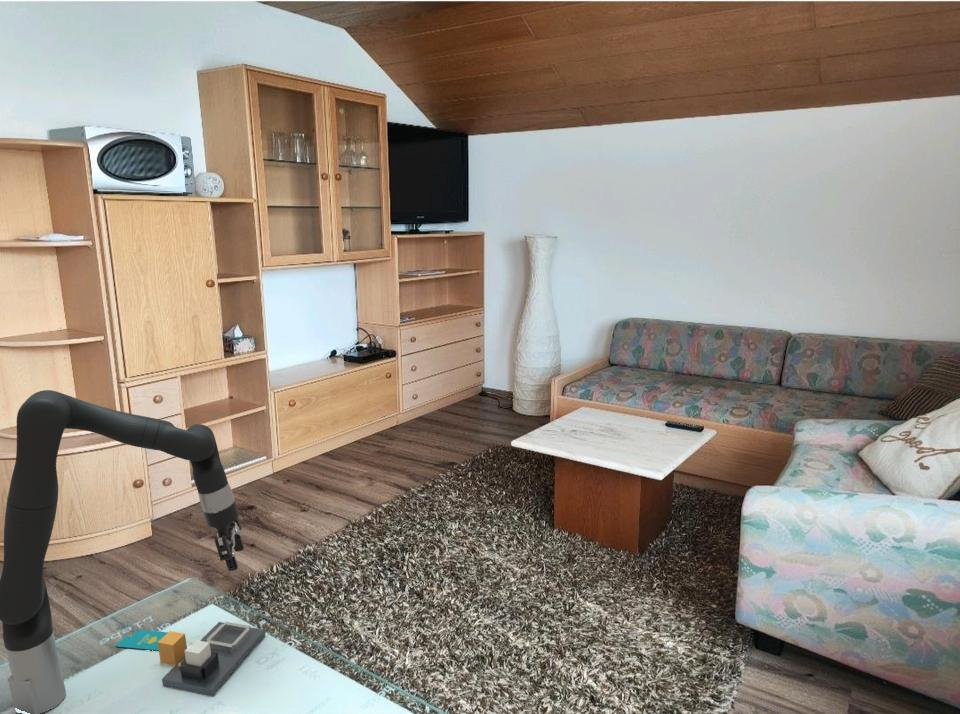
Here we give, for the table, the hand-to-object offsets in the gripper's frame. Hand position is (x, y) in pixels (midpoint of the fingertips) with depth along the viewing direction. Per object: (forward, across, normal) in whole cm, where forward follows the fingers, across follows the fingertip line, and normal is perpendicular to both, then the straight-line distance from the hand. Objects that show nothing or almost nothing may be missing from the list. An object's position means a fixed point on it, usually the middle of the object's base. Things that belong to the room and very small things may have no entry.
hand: (236, 559), depth 166 cm
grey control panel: (+24, +4, -11) cm, 27 cm away
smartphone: (+22, -6, -30) cm, 38 cm away
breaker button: (+19, +10, -12) cm, 25 cm away
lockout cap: (+22, +2, -22) cm, 31 cm away
